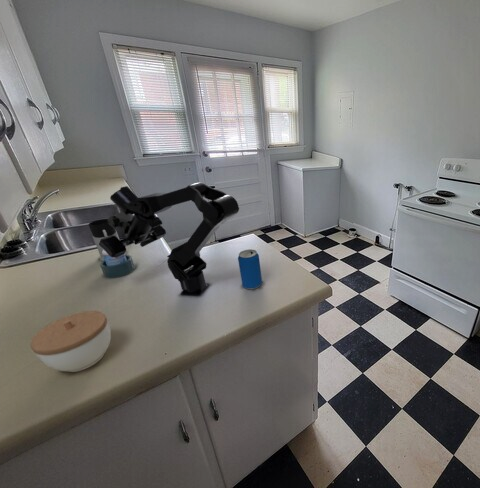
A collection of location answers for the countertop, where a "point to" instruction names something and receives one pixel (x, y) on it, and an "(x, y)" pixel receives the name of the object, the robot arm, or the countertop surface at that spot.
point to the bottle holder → (118, 268)
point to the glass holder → (101, 233)
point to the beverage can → (250, 269)
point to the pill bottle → (113, 259)
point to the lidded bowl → (73, 341)
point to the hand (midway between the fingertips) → (128, 251)
